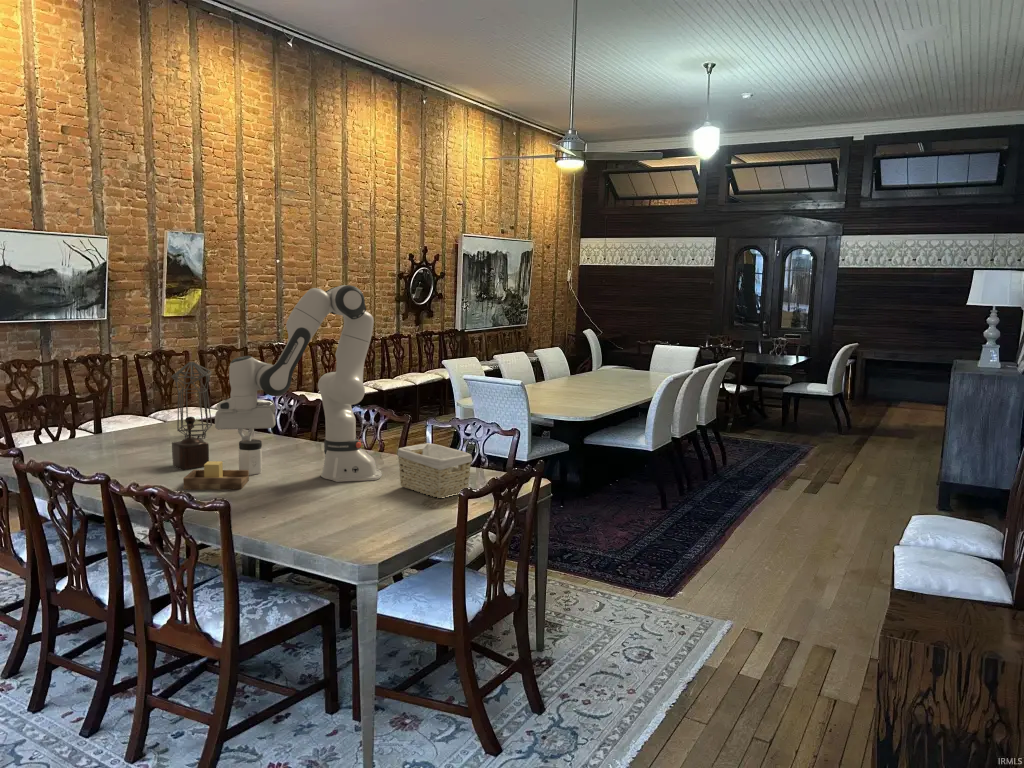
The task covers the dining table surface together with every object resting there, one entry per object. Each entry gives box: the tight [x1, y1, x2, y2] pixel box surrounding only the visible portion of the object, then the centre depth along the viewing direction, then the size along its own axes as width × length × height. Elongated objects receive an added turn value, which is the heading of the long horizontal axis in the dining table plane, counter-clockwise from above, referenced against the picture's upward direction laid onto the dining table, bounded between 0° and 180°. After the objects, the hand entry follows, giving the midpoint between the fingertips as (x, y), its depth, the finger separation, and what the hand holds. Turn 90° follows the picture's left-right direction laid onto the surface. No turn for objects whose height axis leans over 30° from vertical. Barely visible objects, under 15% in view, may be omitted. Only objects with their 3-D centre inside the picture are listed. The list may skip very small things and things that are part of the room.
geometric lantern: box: [170, 361, 213, 440], centre depth 345 cm, size 16×16×35 cm
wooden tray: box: [182, 469, 250, 491], centre depth 269 cm, size 19×12×4 cm, turn 97°
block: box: [203, 460, 224, 477], centre depth 268 cm, size 5×5×6 cm
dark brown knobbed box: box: [171, 416, 210, 471], centre depth 296 cm, size 16×11×18 cm
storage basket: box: [396, 442, 473, 499], centre depth 271 cm, size 24×16×15 cm
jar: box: [238, 438, 263, 476], centre depth 288 cm, size 9×8×12 cm
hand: (246, 440), depth 269 cm, fingers closed
